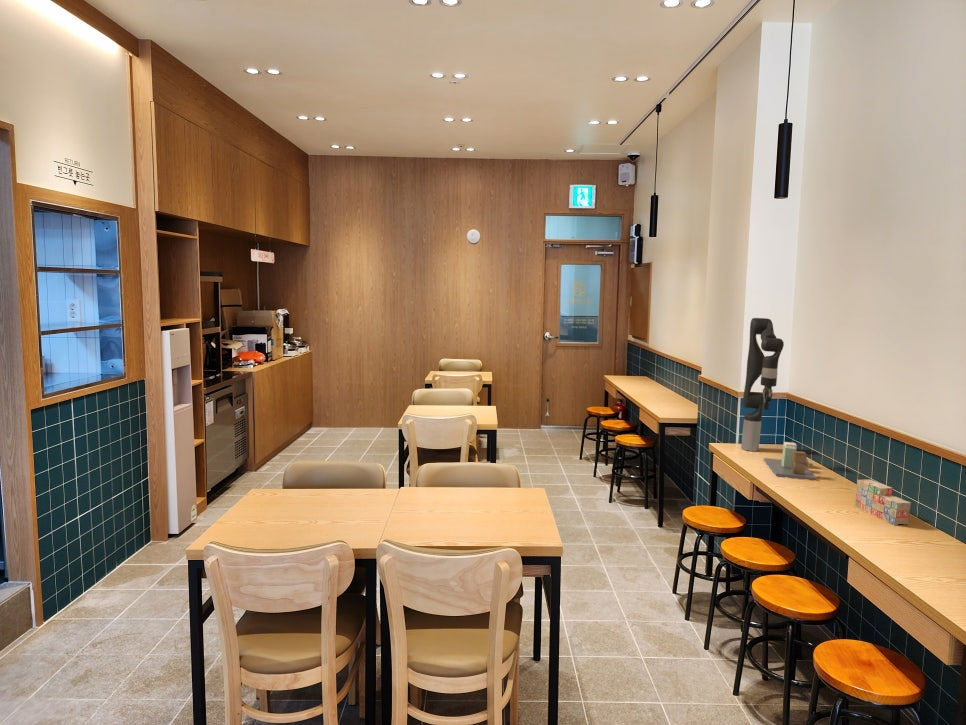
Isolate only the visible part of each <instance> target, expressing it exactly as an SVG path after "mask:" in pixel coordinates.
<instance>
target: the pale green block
mask: <svg viewBox="0 0 966 725" xmlns="http://www.w3.org/2000/svg"><path fill="white" fill-rule="evenodd" d="M793 451H797V448H795V447H791V446H784V445H783V446H782V455H781V460H782V464H781V465H782V466H783V467H785V468H792V459H793Z"/></svg>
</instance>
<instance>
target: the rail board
mask: <svg viewBox="0 0 966 725" xmlns="http://www.w3.org/2000/svg"><path fill="white" fill-rule="evenodd" d="M764 461H765V462H766V463H765V462H764ZM763 462H764V463H765V464H766V465H768V466H769V467H768V466H767V467H768V468H769V469H770V471H771V470H772V471H771V472H772V473H773V475H774V474H775V475H776V476H778V478H785V477H788V478H787V479H795V478H798V479H797V480H804V479H811V480H810V481H814V480H816V481H817V476H815V475H814V473H813V472H811V471H810V470H809V468H808V467H806V468H805V474H796V473H793V472H792V471H791V469H792V468H785V467H783V466H782V465H781V464H782V459H779V458H778V459H777V458H769V457H768V458H767V457H764V458H763ZM775 475H774V476H775ZM776 476H775V477H776Z"/></svg>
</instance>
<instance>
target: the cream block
mask: <svg viewBox="0 0 966 725" xmlns="http://www.w3.org/2000/svg"><path fill="white" fill-rule="evenodd" d="M783 446H791V447H795V448H796V449H797V446H798V445H797V444H796V442H788V441H783Z"/></svg>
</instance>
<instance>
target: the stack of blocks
mask: <svg viewBox="0 0 966 725" xmlns="http://www.w3.org/2000/svg"><path fill="white" fill-rule="evenodd" d="M893 491H894V488H893V487H891V486H888V485H886V484H884V483H880V482H878V481H875V480H872V479H857V483H856V492H855V501H854V508H856V507H857V508H856V509H858V508H859V510H860V509H861V510H860V511H862V510H863V511H862V512H864V511H866V512H868V513H870V514H869V515H871V514H873V515H875V516H877V517H876V518H878V517H879V518H878V519H880V518H881V519H880V520H882V519H883V521H884V520H885V521H884V522H886V521H887V523H889V522H890V523H889V524H891V523H892V524H891V525H893V524H894V525H893V526H899V525H898V524H908V525H909V517H910V510H911V504H912V502H911V501H907V500H905V499H902V498H900V497H898V496H895V495H893ZM866 512H865V513H866ZM868 513H867V514H868ZM873 515H872V516H873ZM875 516H874V517H875Z"/></svg>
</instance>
